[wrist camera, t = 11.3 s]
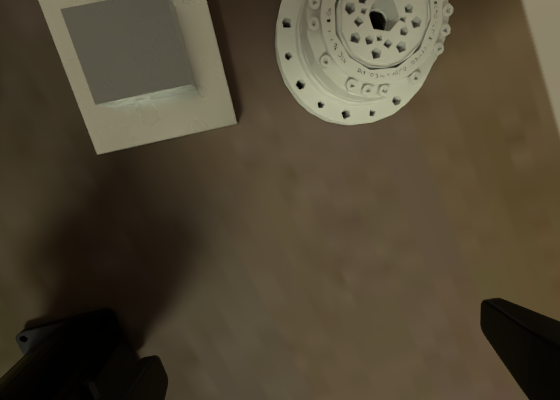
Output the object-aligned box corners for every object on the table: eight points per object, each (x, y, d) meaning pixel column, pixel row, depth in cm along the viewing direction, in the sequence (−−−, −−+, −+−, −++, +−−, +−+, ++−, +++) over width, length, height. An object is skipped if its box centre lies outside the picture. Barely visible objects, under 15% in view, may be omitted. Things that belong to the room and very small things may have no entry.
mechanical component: (441, -27, 17) (286, -64, 16) (505, -82, 13) (299, -140, 11) (404, 134, 19) (264, 113, 18) (449, 133, 15) (269, 105, 13)
